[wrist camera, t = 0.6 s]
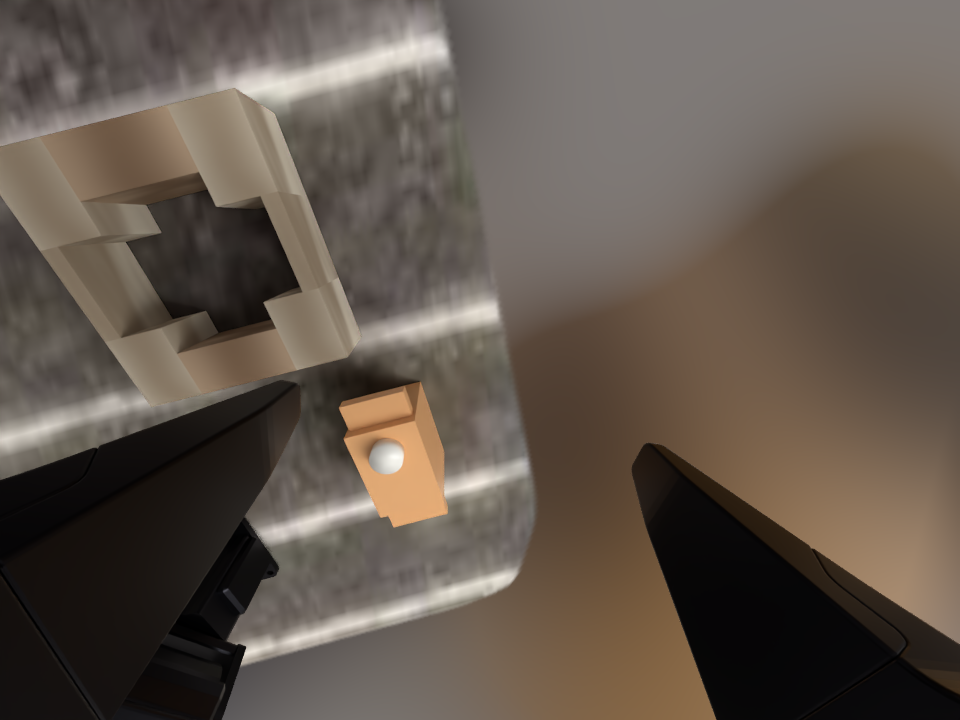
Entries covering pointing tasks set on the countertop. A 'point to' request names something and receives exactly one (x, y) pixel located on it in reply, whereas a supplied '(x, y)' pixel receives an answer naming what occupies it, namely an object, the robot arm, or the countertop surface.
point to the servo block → (397, 453)
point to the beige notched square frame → (125, 217)
